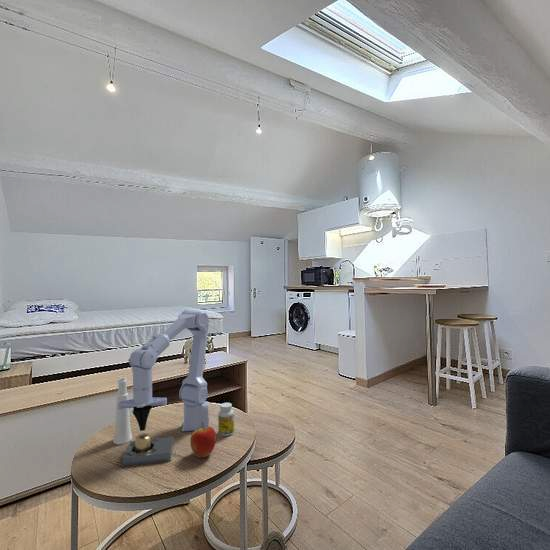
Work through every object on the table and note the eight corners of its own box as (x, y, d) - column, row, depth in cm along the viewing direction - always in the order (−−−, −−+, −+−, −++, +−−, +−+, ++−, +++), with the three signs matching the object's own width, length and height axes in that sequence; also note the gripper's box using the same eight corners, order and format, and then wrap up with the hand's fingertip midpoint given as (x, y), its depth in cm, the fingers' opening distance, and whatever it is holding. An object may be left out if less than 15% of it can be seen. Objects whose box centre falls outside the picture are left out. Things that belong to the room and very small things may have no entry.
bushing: (151, 450, 104) (151, 432, 104) (149, 458, 99) (149, 439, 99) (137, 452, 103) (137, 433, 103) (133, 460, 98) (133, 440, 98)
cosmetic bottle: (109, 442, 109) (108, 378, 109) (124, 434, 115) (124, 373, 115) (121, 446, 106) (120, 381, 107) (135, 438, 112) (135, 376, 112)
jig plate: (173, 444, 108) (173, 436, 108) (170, 460, 98) (170, 452, 98) (130, 448, 105) (130, 441, 105) (121, 466, 95) (121, 458, 95)
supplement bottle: (236, 430, 117) (236, 402, 117) (230, 437, 112) (229, 408, 112) (222, 428, 119) (222, 400, 119) (215, 435, 113) (215, 406, 113)
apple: (193, 465, 95) (192, 432, 96) (188, 451, 103) (188, 421, 103) (219, 458, 99) (218, 426, 99) (212, 445, 106) (212, 416, 106)
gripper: (114, 393, 96) (114, 438, 95) (164, 389, 99) (164, 432, 98) (120, 385, 103) (121, 427, 102) (167, 382, 106) (167, 422, 105)
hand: (142, 429), depth 101 cm, fingers closed
